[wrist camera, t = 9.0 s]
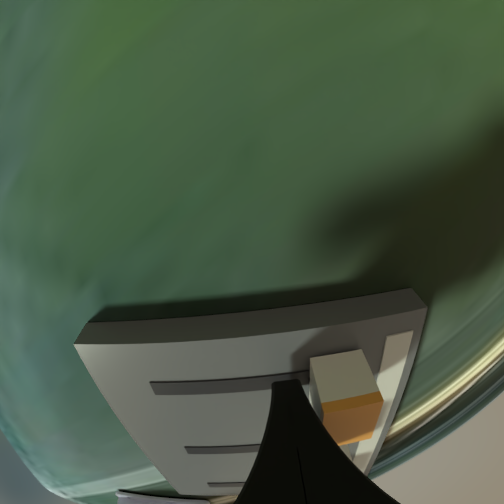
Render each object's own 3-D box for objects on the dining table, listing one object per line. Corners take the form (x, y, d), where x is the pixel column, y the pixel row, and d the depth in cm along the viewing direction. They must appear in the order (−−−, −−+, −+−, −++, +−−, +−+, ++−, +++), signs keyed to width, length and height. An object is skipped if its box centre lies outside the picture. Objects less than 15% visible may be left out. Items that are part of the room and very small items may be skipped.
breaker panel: (181, 478, 19) (176, 524, 15) (86, 322, 12) (46, 393, 8) (362, 461, 18) (375, 506, 14) (411, 287, 12) (463, 353, 8)
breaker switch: (309, 398, 12) (319, 449, 9) (309, 357, 11) (323, 413, 8) (354, 390, 12) (371, 438, 9) (361, 348, 11) (384, 400, 8)
